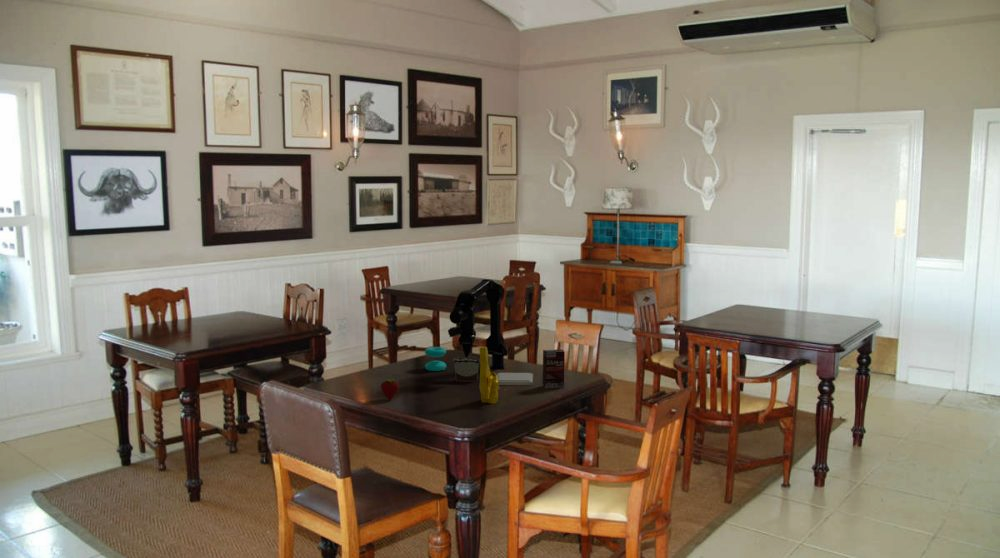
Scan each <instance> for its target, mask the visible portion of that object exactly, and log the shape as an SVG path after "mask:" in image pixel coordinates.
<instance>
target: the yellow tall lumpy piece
mask: <svg viewBox="0 0 1000 558" xmlns="http://www.w3.org/2000/svg"><path fill="white" fill-rule="evenodd" d="M479 360H480V363H479V365H480V366H479V391H480V398H481V403H484V404H485V403H488V404H493V405H494V403H495V404H496V403H498V400H499V392H498V391H499V390H500V389H501V387H500V385H498V380H497V373H494V372H493V371H491V367H490V364H489V355H488V350H487V347H486V346H481V347H479Z"/></svg>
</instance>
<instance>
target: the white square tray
mask: <svg viewBox="0 0 1000 558" xmlns="http://www.w3.org/2000/svg"><path fill="white" fill-rule="evenodd" d="M496 375H497V380H498V386H532V385H534V381H533V380H534V373H532V372H498V373H496Z"/></svg>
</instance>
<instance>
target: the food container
mask: <svg viewBox="0 0 1000 558" xmlns="http://www.w3.org/2000/svg"><path fill="white" fill-rule="evenodd" d="M452 364H453V365H454V373H455V381H456V382H468V383H470V382H473V383H475V382H476V383H477V382H478V379H479V378H478V377H479V370H480V366H479V365H480V357H479V358H478V357H477V356H468V357H465V356H458V357H454V358H453V361H452Z"/></svg>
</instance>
